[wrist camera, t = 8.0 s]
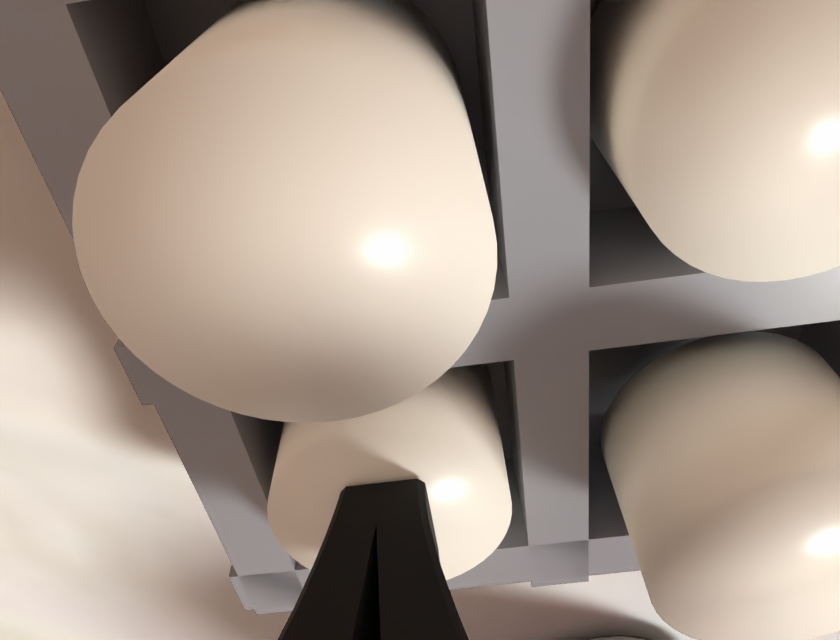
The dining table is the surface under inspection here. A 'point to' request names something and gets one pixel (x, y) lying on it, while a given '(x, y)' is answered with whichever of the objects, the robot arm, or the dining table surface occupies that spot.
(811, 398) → the middle button
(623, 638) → the soda can
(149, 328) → the board
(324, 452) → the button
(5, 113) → the dining table surface
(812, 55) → the button mid
